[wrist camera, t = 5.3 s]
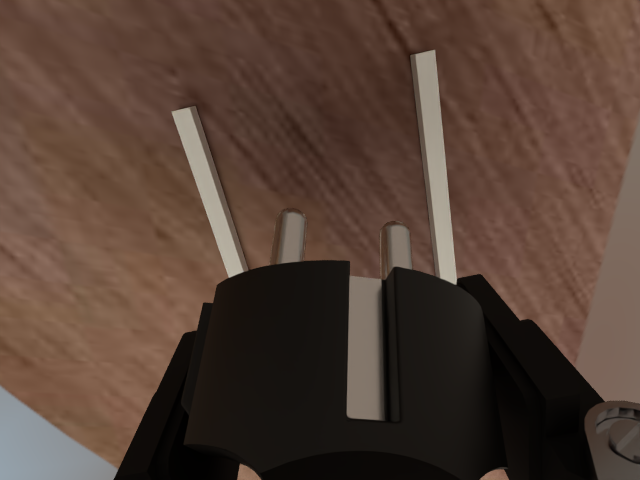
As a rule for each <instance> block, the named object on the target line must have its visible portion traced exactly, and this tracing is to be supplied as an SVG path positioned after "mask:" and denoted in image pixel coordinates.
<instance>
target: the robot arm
mask: <svg viewBox="0 0 640 480" xmlns="http://www.w3.org/2000/svg"><path fill="white" fill-rule="evenodd" d="M456 284H457V286H459V287H460V288H462V289H464V290H465V291H467V292H468V293H469V294H471V295H472V296H473V297H474V298H475V299H476V300H477V301H478V303H479V304H480V306H481V308H482V311H483V316H484V322H485V328H486V334H487V340H488V346H489V352H490V359H491V365H492V371H493V377H494V383H495V389H496V395H497V402H498V408H499V414H500V420H501V426H502V432H503V439H504V445H505V451H506V457H507V463H508V469H504V470H505V472H506V474H507V476H508V478H509V480H640V404H639V403H633V402H628V401H607V402H605V401H604V400H603V399H602V398H601V397H600V396H599V395H598V393H597V392H596V391H595V390H594V389H593V388H592V387H591V386H590V384H589V383H588V382H587V381H586V380H585V379H584V378H583V376H582V375H581V374H580V373H579V372H578V371H577V370H576V369H575V367H574V366H573V365H572V364H571V363H570V362H569V361H568V359H567V358H566V357H565V356H564V355H563V354H562V353H561V352H560V350H559V349H558V348H557V347H556V346H555V345H554V344H553V343H552V341H551V340H550V339H549V338H548V337H547V336H546V335H545V333H544V332H543V331H542V330H541V329H540V328H539V327H538V326H537V324H535V323H534V322H533V321H532V320H529V319H526V320H521V321H520V320H519V319H518V318H517V317H516V315H515V314H514V313H513V312H512V311H511V309H510V308H509V307H508V306H507V305H506V303H505V302H504V301H503V300H502V299H501V297H500V296H499V295H498V294H497V293H496V291H495V290H494V289H493V288H492V287H491V285H490V284H489V283H488V282H487V281H486V279H485V278H484V277H483V276H482V275H481V274H477V275H472V276H467V277H462V278H458V279H457V282H456ZM196 333H197V331H192V332H187V333H184V335H183V336H182V338H181V340H180V342H179V344H178V347H177V349H176V351H175V353H174V355H173V357H172V359H171V362H170V364H169V366H168V368H167V370H166V372H165V374H164V377H163V379H162V381H161V383H160V385H159V387H158V389H157V392H156V393H155V394H154V396H153V397H152V399H151V402H150V404H149V406H148V408H147V410H146V412H145V414H144V416H143V418H142V421H141V423H140V425H139V427H138V429H137V431H136V433H135V435H134V438H133V440H132V442H131V444H130V446H129V448H128V450H127V452H126V455H125V457H124V459H123V461H122V463H121V465H120V467H119V469H118V472H117V474H116V476H115V478H114V480H237V477H238V471H239V465H240V463H238V462H236V461H233V460H231V459H227V458H222V457H217V456H211V455H205V454H202V453H200V452H198V451H195V450H193V449H191V448H189V447H187V446H185V445H183V444H184V439H185V434H186V430H187V425H188V420H189V415H188V414H187V412H186V411H185V409H184V408H183V406H182V405H181V400H182V395H183V391H184V386H185V382H186V377H187V373H188V369H189V364H190V360H191V355H192V351H193V346H194V342H195V337H196Z"/></svg>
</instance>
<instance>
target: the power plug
mask: <svg viewBox="0 0 640 480" xmlns="http://www.w3.org/2000/svg"><path fill="white" fill-rule="evenodd" d="M306 233H307V218H306V217H305V215H304V214H303V212H301V211H300V210H298V209H294V208H287V209H284V210H283V211H281V212H280V213H279V214H278V216H277V218H276V221H275V229H274V236H273V243H272V250H271V257H270V264H269V266H264V267H259V268H255V269H252V270H248V271H245V272H242V273H239V274H237V275H234V276H232V277H230V278H227V279H226V280H224V281H222V282H221V283H219V284H218V285H217V287H216V292H215V297H214V301H213V303H203V306H202V311H201V315H200V320H199V324H198V328H197V333H196V337H195V342H194V346H193V351H192V355H191V360H190V364H189V369H188V373H187V377H186V382H185V386H184V391H183V395H182V400H181V405H182V406H183V408H184V409H185V411H186V412H187V414H188V415H189V420H188V425H187V430H186V434H185V439H184V444H183V445H185V446H187V447H189V448H191V449H193V450H195V451H198V452H200V453H202V454H205V455H211V456H217V457H222V458H227V459H231V460H233V461H236V462H238V463H240V464H243V465H245V466H248V467H249V468H251V469H252V470H253V471H255V473H256V474H257V475H258V476H259V477H260V478H261V480H480V478H482V477H483V476H484V475H485V474H486V473H488V472H490V471H493V470H495V469H508V463H507V457H506V451H505V445H504V439H503V432H502V426H501V420H500V414H499V408H498V402H497V395H496V389H495V383H494V377H493V371H492V365H491V359H490V352H489V346H488V340H487V334H486V328H485V322H484V316H483V311H482V308H481V306H480V304H479V303H478V301H477V300H476V299H475V298H474V297H473V296H472V295H471V294H469V293H468V292H467V291H465V290H464V289H462V288H460V287H459V286H457V285H455V284H453V283H451V282H449V281H446V280H444V279H441V278H439V277H436V276H433V275H430V274H426V273H423V272H420V271H416V270H413V261H412V247H411V233H410V231H409V228H408V227H407V226H406V225H405V224H404V223H403V222H399V221H391V222H387V223H386V224H384V226H383V227H382V228H381V229H380V233H379V256H380V279H374V278H365V277H356V276H350V262H349V261H337V260H319V261H304V256H305V245H306Z"/></svg>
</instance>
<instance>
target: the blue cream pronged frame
mask: <svg viewBox="0 0 640 480" xmlns="http://www.w3.org/2000/svg"><path fill="white" fill-rule="evenodd" d="M410 59H411V68H412V77H413V85H414V94H415V102H416V111H417V119H418V128H419V136H420V145H421V154H422V162H423V171H424V179H425V188H426V196H427V205H428V214H429V222H430V231H431V239H432V248H433V256H434V265H435V273H436V277H439V278H441V279H444V280H446V281H449V282H451V283H453V284H455V285H457V284H456V282H457V278H456V268H455V257H454V246H453V236H452V225H451V215H450V204H449V193H448V183H447V172H446V161H445V151H444V140H443V130H442V119H441V108H440V98H439V87H438V76H437V66H436V55H435V50H431V51H426V52H422V53H418V54H414V55H410ZM172 115H173V118H174V121H175V124H176V126H177V129H178V132H179V135H180V138H181V141H182V144H183V147H184V149H185V152H186V155H187V158H188V161H189V164H190V167H191V170H192V173H193V175H194V178H195V181H196V184H197V187H198V190H199V193H200V196H201V198H202V201H203V204H204V207H205V210H206V213H207V216H208V219H209V221H210V224H211V227H212V230H213V233H214V236H215V239H216V242H217V244H218V247H219V250H220V253H221V256H222V259H223V262H224V265H225V267H226V270H227V273H228V276H229V278H230V277H232V276H234V275H237V274H239V273H242V272H245V271H248V267H247V264H246V260H245V257H244V254H243V251H242V248H241V245H240V242H239V239H238V236H237V233H236V229H235V226H234V223H233V220H232V217H231V214H230V211H229V208H228V205H227V202H226V199H225V195H224V192H223V189H222V186H221V183H220V180H219V177H218V174H217V171H216V168H215V164H214V161H213V158H212V155H211V152H210V149H209V146H208V143H207V140H206V137H205V133H204V130H203V127H202V124H201V121H200V118H199V115H198V112H197V109H196V106H192V107H188V108H184V109H179V110H176V111H172Z"/></svg>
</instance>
